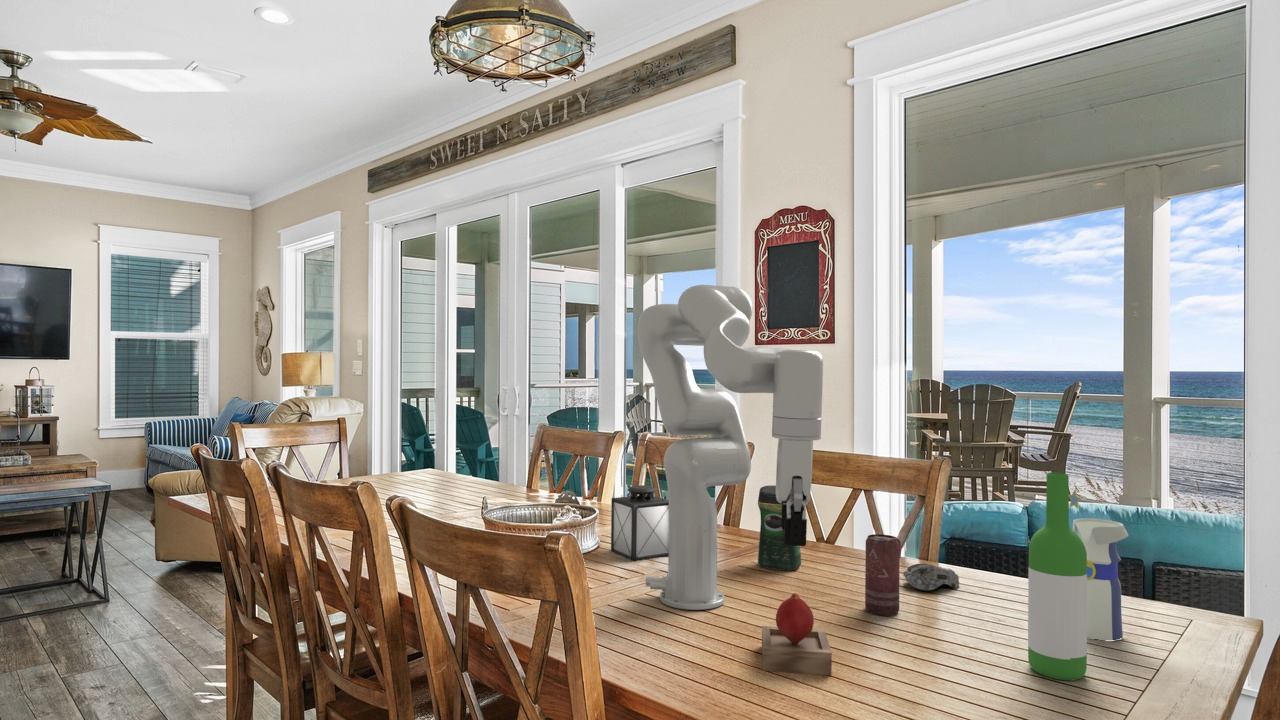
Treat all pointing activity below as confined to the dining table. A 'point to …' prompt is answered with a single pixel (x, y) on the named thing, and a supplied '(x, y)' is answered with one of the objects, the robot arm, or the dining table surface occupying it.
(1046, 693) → the dining table surface
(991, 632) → the dining table surface
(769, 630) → the wooden square tray
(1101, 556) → the white spray bottle
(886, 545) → the can
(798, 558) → the coffee jar
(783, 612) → the onion
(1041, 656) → the wine bottle
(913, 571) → the fossilized seashell
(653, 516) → the lantern
